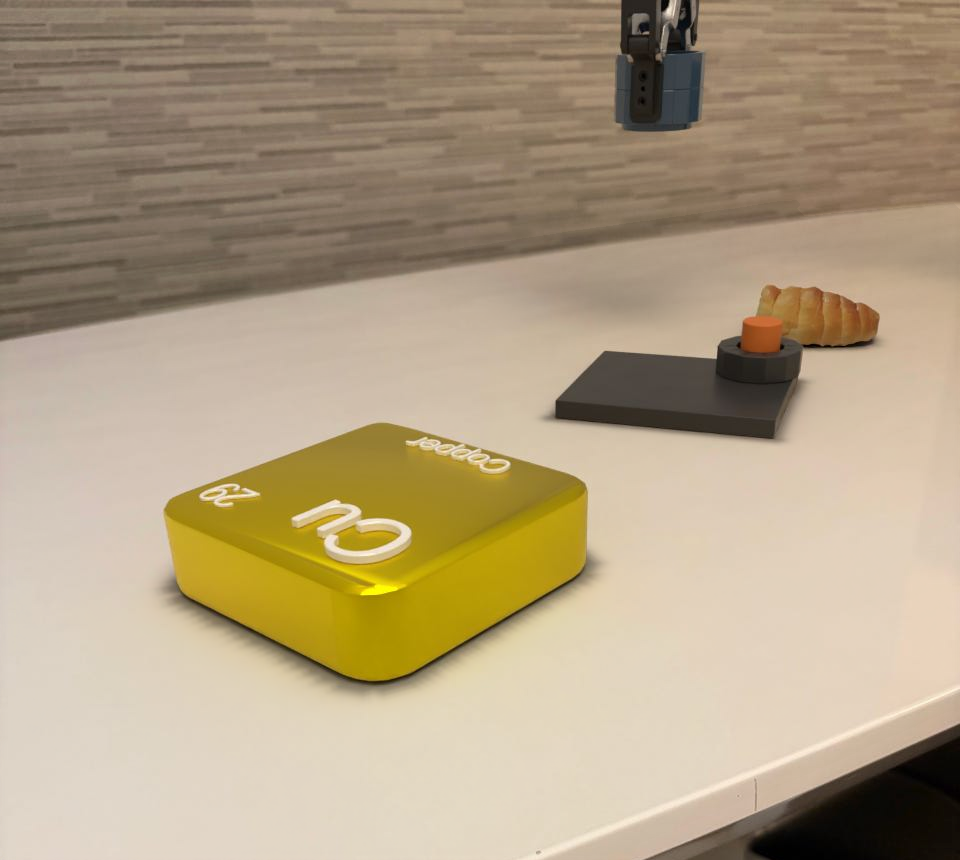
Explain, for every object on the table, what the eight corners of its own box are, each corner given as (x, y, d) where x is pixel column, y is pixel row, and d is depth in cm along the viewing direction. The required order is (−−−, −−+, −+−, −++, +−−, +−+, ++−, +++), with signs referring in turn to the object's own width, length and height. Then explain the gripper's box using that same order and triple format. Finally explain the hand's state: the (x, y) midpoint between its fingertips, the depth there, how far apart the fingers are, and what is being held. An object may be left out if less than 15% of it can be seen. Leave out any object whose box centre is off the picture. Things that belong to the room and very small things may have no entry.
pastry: (877, 329, 86) (884, 280, 84) (875, 353, 81) (883, 301, 79) (757, 323, 89) (761, 276, 87) (747, 346, 84) (752, 296, 82)
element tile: (603, 564, 52) (606, 470, 50) (377, 697, 42) (368, 590, 40) (387, 490, 61) (381, 407, 58) (160, 587, 51) (141, 493, 49)
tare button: (782, 347, 74) (785, 317, 73) (776, 357, 72) (780, 326, 71) (743, 344, 74) (746, 314, 73) (737, 355, 72) (740, 324, 71)
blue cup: (708, 124, 83) (713, 49, 80) (689, 133, 78) (694, 54, 75) (627, 123, 85) (629, 51, 82) (603, 132, 80) (605, 55, 77)
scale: (801, 380, 76) (807, 337, 74) (777, 439, 66) (783, 391, 64) (604, 365, 80) (605, 324, 79) (554, 418, 70) (555, 372, 69)
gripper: (643, -143, 79) (633, 109, 88) (584, -165, 68) (580, 127, 76) (746, -151, 77) (726, 109, 85) (703, -175, 65) (684, 128, 74)
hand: (657, 117), depth 81 cm, fingers closed on blue cup, 6 cm apart
